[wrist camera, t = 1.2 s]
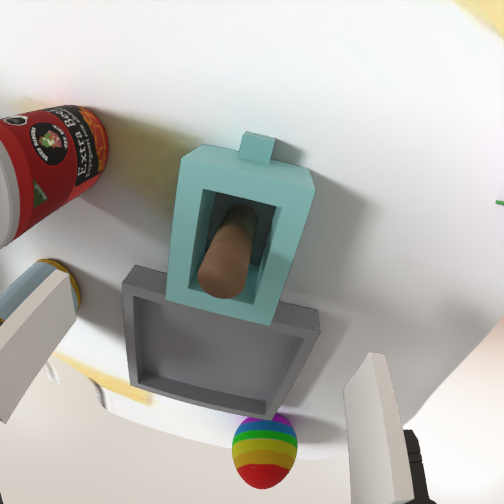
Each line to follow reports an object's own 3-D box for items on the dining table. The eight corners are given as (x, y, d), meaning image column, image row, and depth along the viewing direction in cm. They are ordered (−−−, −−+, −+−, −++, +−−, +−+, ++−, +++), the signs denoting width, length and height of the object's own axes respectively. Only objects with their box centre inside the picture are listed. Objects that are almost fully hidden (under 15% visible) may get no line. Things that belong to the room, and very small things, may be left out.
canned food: (127, 166, 22) (32, 224, 12) (64, 205, 24) (-19, 268, 14) (88, 84, 18) (-21, 98, 9) (31, 135, 21) (-63, 173, 11)
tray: (138, 367, 33) (130, 385, 31) (135, 265, 26) (122, 282, 23) (272, 401, 33) (271, 420, 31) (317, 310, 26) (320, 331, 24)
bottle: (63, 249, 26) (-35, 351, 13) (94, 306, 29) (21, 416, 16) (27, 262, 27) (-57, 347, 14) (55, 311, 30) (-12, 403, 17)
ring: (184, 263, 25) (165, 299, 21) (207, 123, 20) (185, 131, 15) (272, 285, 25) (269, 325, 21) (314, 148, 20) (323, 163, 15)
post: (221, 230, 23) (194, 292, 16) (227, 200, 22) (200, 253, 15) (253, 238, 23) (239, 303, 16) (261, 208, 22) (249, 265, 15)
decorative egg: (249, 437, 39) (242, 496, 30) (226, 410, 36) (213, 478, 27) (304, 431, 37) (303, 494, 28) (287, 402, 33) (284, 476, 25)
